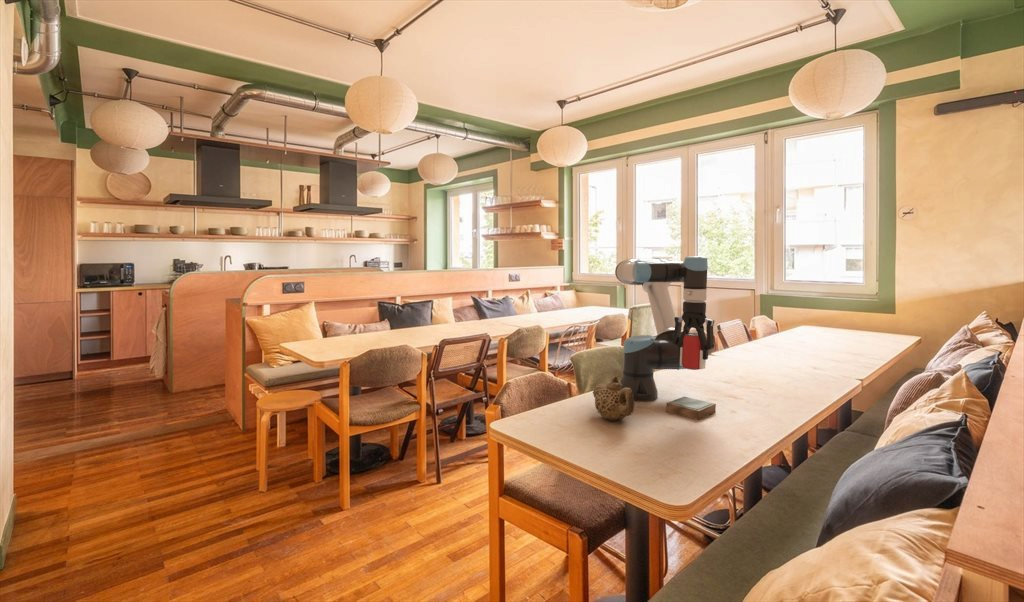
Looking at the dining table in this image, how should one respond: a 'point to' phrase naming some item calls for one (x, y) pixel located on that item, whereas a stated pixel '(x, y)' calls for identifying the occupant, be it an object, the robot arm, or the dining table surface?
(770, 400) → the dining table surface
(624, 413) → the teapot
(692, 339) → the beer can
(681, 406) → the pedestal
